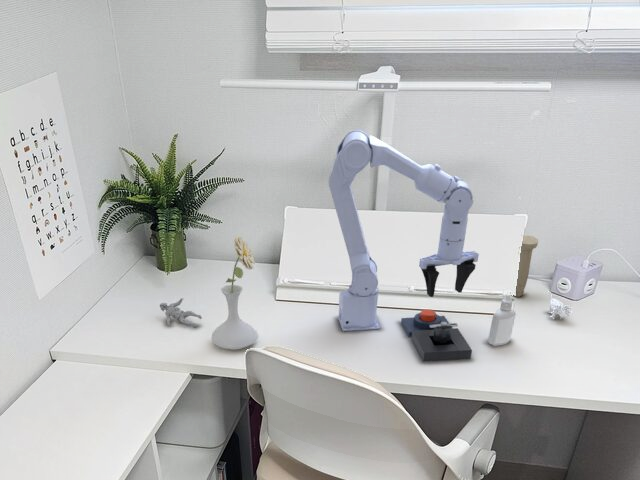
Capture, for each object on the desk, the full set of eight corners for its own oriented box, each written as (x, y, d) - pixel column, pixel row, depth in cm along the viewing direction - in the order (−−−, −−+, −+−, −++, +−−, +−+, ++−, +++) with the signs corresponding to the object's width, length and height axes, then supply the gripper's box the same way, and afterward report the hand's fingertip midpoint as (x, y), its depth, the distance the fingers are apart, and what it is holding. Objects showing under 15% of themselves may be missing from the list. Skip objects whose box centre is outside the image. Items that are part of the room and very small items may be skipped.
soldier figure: (188, 336, 171) (149, 314, 173) (193, 340, 176) (155, 319, 178) (203, 309, 171) (164, 287, 173) (208, 314, 176) (169, 293, 177)
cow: (571, 324, 170) (576, 307, 167) (549, 325, 170) (554, 307, 167) (556, 304, 179) (561, 287, 176) (536, 304, 180) (540, 287, 177)
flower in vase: (240, 358, 159) (234, 253, 144) (202, 346, 164) (192, 244, 149) (271, 336, 168) (268, 235, 152) (233, 326, 173) (227, 226, 157)
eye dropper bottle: (512, 346, 162) (523, 298, 154) (489, 346, 162) (498, 299, 154) (508, 337, 165) (518, 290, 158) (485, 338, 165) (493, 291, 158)
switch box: (408, 337, 166) (409, 326, 164) (400, 323, 172) (402, 312, 171) (452, 335, 167) (454, 323, 165) (443, 320, 173) (444, 309, 171)
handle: (525, 290, 187) (537, 236, 177) (526, 300, 182) (538, 244, 172) (506, 289, 187) (517, 235, 178) (507, 299, 183) (518, 243, 173)
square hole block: (422, 362, 156) (424, 352, 155) (411, 340, 165) (412, 330, 164) (470, 359, 157) (472, 349, 156) (456, 337, 166) (457, 328, 164)
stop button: (422, 322, 166) (423, 316, 165) (418, 316, 169) (419, 309, 168) (436, 321, 167) (437, 315, 166) (432, 315, 169) (433, 308, 168)
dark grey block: (429, 354, 159) (432, 327, 155) (424, 346, 162) (428, 319, 158) (455, 352, 160) (460, 325, 155) (450, 344, 163) (455, 318, 159)
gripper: (431, 247, 153) (424, 303, 161) (488, 239, 156) (478, 295, 164) (417, 236, 158) (411, 292, 166) (473, 229, 161) (464, 284, 170)
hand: (444, 293), depth 166 cm, fingers open, 7 cm apart
